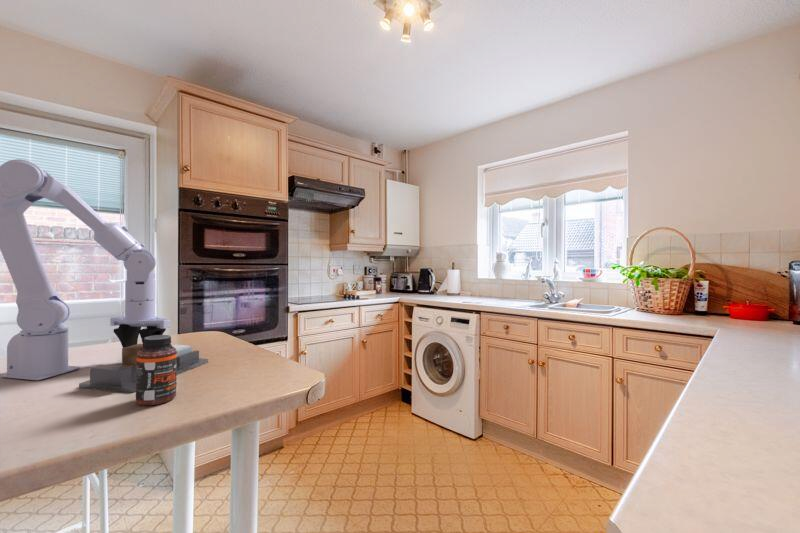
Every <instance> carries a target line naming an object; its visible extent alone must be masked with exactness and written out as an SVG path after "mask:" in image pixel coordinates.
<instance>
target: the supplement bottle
mask: <svg viewBox="0 0 800 533" xmlns="http://www.w3.org/2000/svg"><path fill="white" fill-rule="evenodd" d="M142 344H143V343H142ZM143 345H144V347H143V349H142V350H140V351H139V352H138V354H137V362H136V392H135V402H136V403H137V404H138V405H140V406H156V405H157V406H158V405H161V404H165V403H168V402H170V401H171V400H173V399H174V398H175V397H176V396H177V376H178V375H177V350H176V348H174V347H173V346H172V345H173V344H172V336H171V335H169V334H163V335H154V336H148V337H145V338H144V344H143Z"/></svg>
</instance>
